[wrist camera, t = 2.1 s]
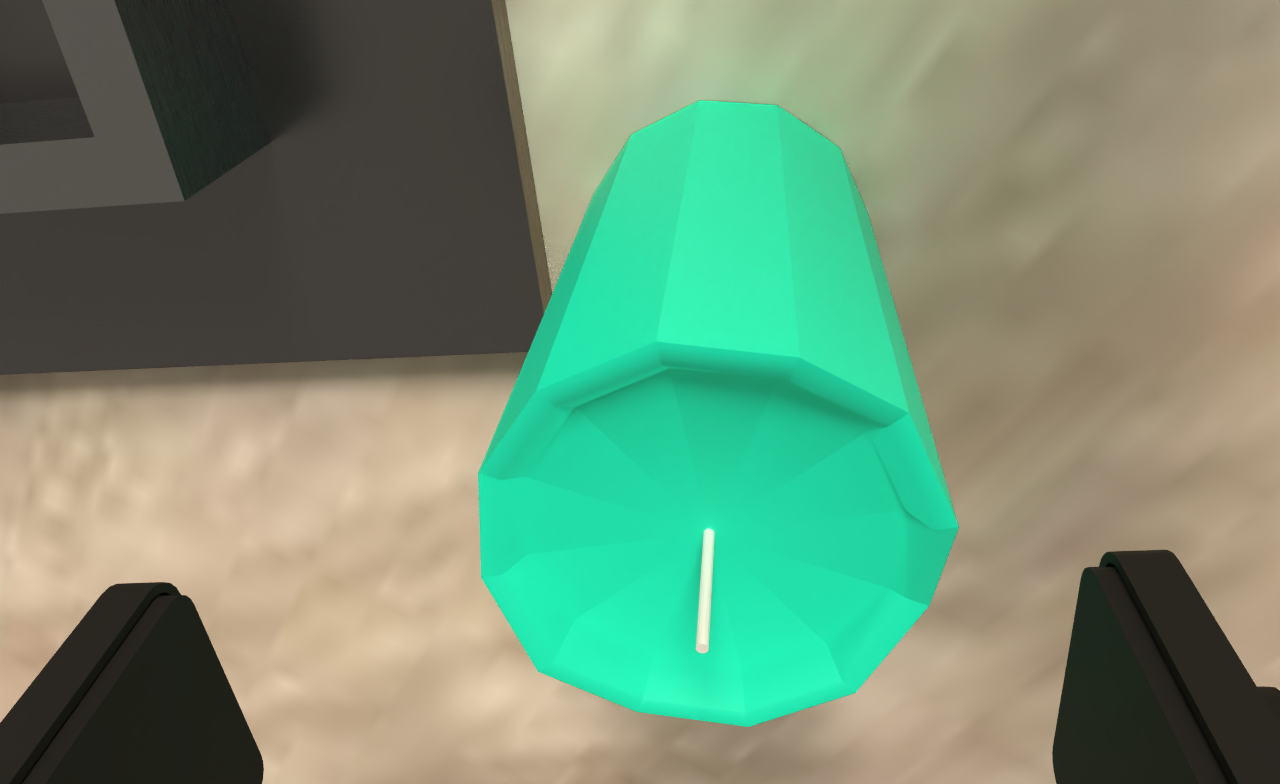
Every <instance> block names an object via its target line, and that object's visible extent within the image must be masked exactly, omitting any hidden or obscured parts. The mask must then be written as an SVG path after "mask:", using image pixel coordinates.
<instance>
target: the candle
mask: <svg viewBox="0 0 1280 784" xmlns="http://www.w3.org/2000/svg"><path fill="white" fill-rule="evenodd" d="M478 481H479V516H480V551H481V578H482V579H483V581H484V583H485V584H486V586H487V588H488V589H489V591H490V593H491V594H492V596H493V598H494V599H495V601H496V603H497V604H498V606H499V608H500V609H501V611H502V612H503V614H504V616H505V617H506V619H507V621H508V622H509V624H510V626H511V627H512V629H513V631H514V632H515V634H516V636H517V637H518V639H519V641H520V642H521V644H522V646H523V647H524V649H525V651H526V652H527V654H528V656H529V657H530V659H531V661H532V662H533V664H534V665H535V667H536V669H537V670H538V672H540V673H543V674H545V675H548V676H550V677H553V678H555V679H558V680H560V681H562V682H565V683H567V684H570V685H572V686H575V687H577V688H580V689H582V690H584V691H587V692H589V693H592V694H594V695H597V696H599V697H602V698H604V699H607V700H609V701H611V702H614V703H616V704H619V705H621V706H624V707H626V708H629V709H631V710H633V711H636V712H641V713H649V714H656V715H664V716H671V717H679V718H686V719H693V720H701V721H708V722H716V723H723V724H730V725H738V726H745V727H750V726H753V725H756V724H759V723H763V722H766V721H769V720H772V719H775V718H778V717H781V716H785V715H788V714H791V713H794V712H797V711H800V710H803V709H806V708H810V707H813V706H816V705H819V704H822V703H825V702H828V701H832V700H835V699H838V698H841V697H844V696H847V695H850V694H853V693H856V691H857V690H858V689H859V688H860V687H861V686H862V684H863V683H864V682H865V681H866V680H867V678H868V677H869V676H870V675H871V674H872V673H873V671H874V670H875V669H876V668H877V667H878V666H879V664H880V663H881V662H882V661H883V660H884V658H885V657H886V656H887V655H888V654H889V653H890V651H891V650H892V649H893V648H894V647H895V646H896V644H897V643H898V642H899V641H900V640H901V638H902V637H903V636H904V635H905V634H906V633H907V631H908V630H909V629H910V628H911V627H912V626H913V624H914V623H915V622H916V621H917V620H918V618H919V617H920V616H921V615H922V614H923V613H924V611H925V610H926V609H927V608H928V607H929V605H930V603H931V600H932V597H933V595H934V592H935V589H936V587H937V584H938V581H939V579H940V576H941V573H942V571H943V568H944V565H945V563H946V560H947V557H948V555H949V552H950V549H951V547H952V544H953V541H954V539H955V536H956V533H957V531H958V528H959V526H958V522H957V519H956V515H955V512H954V509H953V505H952V502H951V498H950V495H949V491H948V488H947V484H946V481H945V478H944V474H943V471H942V467H941V464H940V460H939V457H938V453H937V450H936V446H935V443H934V440H933V436H932V433H931V429H930V426H929V422H928V419H927V415H926V412H925V409H924V405H923V402H922V398H921V395H920V391H919V388H918V384H917V381H916V377H915V374H914V371H913V367H912V364H911V360H910V357H909V353H908V350H907V346H906V343H905V339H904V336H903V333H902V329H901V326H900V322H899V319H898V315H897V312H896V308H895V305H894V302H893V298H892V295H891V291H890V288H889V284H888V281H887V277H886V274H885V270H884V267H883V264H882V260H881V257H880V253H879V250H878V246H877V243H876V239H875V236H874V233H873V229H872V226H871V222H870V219H869V215H868V212H867V210H866V208H865V205H864V203H863V201H862V198H861V196H860V194H859V191H858V189H857V187H856V184H855V182H854V180H853V178H852V175H851V173H850V171H849V168H848V166H847V164H846V161H845V159H844V157H843V154H842V152H841V150H840V148H839V147H838V146H836V145H835V144H833V143H832V142H830V141H829V140H828V139H826V138H825V137H823V136H822V135H820V134H819V133H817V132H816V131H814V130H813V129H812V128H810V127H809V126H807V125H806V124H804V123H803V122H801V121H800V120H798V119H797V118H795V117H794V116H793V115H791V114H790V113H788V112H787V111H785V110H784V109H782V108H781V107H779V106H778V105H768V104H752V103H736V102H720V101H704V100H699V101H697V102H695V103H693V104H691V105H689V106H687V107H685V108H683V109H681V110H679V111H677V112H675V113H673V114H671V115H669V116H667V117H665V118H663V119H661V120H659V121H657V122H655V123H653V124H651V125H649V126H647V127H645V128H643V129H641V130H639V131H637V132H635V133H633V134H632V135H631V136H630V138H629V139H628V141H627V142H626V144H625V146H624V147H623V149H622V150H621V152H620V153H619V155H618V157H617V158H616V160H615V161H614V163H613V164H612V166H611V168H610V169H609V171H608V172H607V174H606V176H605V177H604V179H603V180H602V182H601V183H600V185H599V187H598V188H597V190H596V191H595V193H594V194H593V197H592V199H591V202H590V204H589V206H588V209H587V211H586V214H585V216H584V219H583V221H582V223H581V226H580V228H579V231H578V233H577V235H576V238H575V240H574V243H573V245H572V248H571V250H570V252H569V255H568V257H567V260H566V262H565V265H564V267H563V269H562V272H561V274H560V277H559V279H558V281H557V284H556V286H555V289H554V291H553V294H552V296H551V298H550V301H549V303H548V306H547V308H546V311H545V313H544V315H543V318H542V320H541V323H540V325H539V327H538V330H537V332H536V335H535V337H534V340H533V342H532V344H531V347H530V349H529V352H528V354H527V357H526V359H525V361H524V364H523V366H522V369H521V371H520V374H519V376H518V378H517V381H516V383H515V386H514V388H513V390H512V393H511V395H510V398H509V400H508V403H507V405H506V407H505V410H504V412H503V415H502V417H501V420H500V422H499V424H498V427H497V429H496V432H495V434H494V436H493V439H492V441H491V444H490V446H489V449H488V451H487V453H486V456H485V458H484V461H483V463H482V466H481V468H480V470H479V473H478Z"/></svg>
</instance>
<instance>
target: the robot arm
mask: <svg viewBox="0 0 1280 784" xmlns="http://www.w3.org/2000/svg"><path fill="white" fill-rule="evenodd" d="M1052 754H1053V768H1054V774H1055V779H1056V783H1057V784H1280V691H1279V690H1278V689H1277V688H1274V687H1257V686H1256V685H1255V683H1254V682H1253V680H1252V678H1251V677H1250V675H1249V673H1248V672H1247V670H1246V669H1245V667H1244V665H1243V664H1242V662H1241V660H1240V659H1239V657H1238V655H1237V654H1236V652H1235V651H1234V649H1233V647H1232V646H1231V644H1230V642H1229V641H1228V639H1227V638H1226V636H1225V634H1224V633H1223V631H1222V629H1221V628H1220V626H1219V625H1218V623H1217V621H1216V620H1215V618H1214V616H1213V615H1212V613H1211V612H1210V610H1209V608H1208V607H1207V605H1206V603H1205V602H1204V600H1203V599H1202V597H1201V595H1200V594H1199V592H1198V590H1197V589H1196V587H1195V586H1194V584H1193V582H1192V581H1191V579H1190V577H1189V576H1188V574H1187V573H1186V571H1185V569H1184V568H1183V566H1182V564H1181V563H1180V561H1179V560H1178V558H1177V557H1176V556H1175V555H1174V554H1173V553H1172V552H1170V551H1168V550H1147V551H1116V552H1107V553H1105V554H1104V555H1103V557H1102V558H1101V562H1100V565H1099V567H1088V568H1085V569H1084V571H1083V573H1082V577H1081V581H1080V587H1079V593H1078V599H1077V605H1076V611H1075V617H1074V623H1073V629H1072V635H1071V641H1070V647H1069V653H1068V659H1067V665H1066V671H1065V677H1064V683H1063V689H1062V695H1061V701H1060V707H1059V713H1058V719H1057V725H1056V731H1055V737H1054V743H1053V753H1052ZM263 771H264V768H263V760H262V756H261V754H260V751H259V749H258V747H257V745H256V742H255V740H254V738H253V736H252V733H251V731H250V729H249V727H248V724H247V722H246V720H245V718H244V715H243V713H242V711H241V709H240V706H239V704H238V702H237V700H236V697H235V695H234V693H233V691H232V688H231V686H230V684H229V682H228V679H227V677H226V675H225V673H224V670H223V668H222V666H221V664H220V661H219V659H218V657H217V655H216V652H215V650H214V648H213V646H212V644H211V641H210V639H209V637H208V635H207V632H206V630H205V628H204V626H203V623H202V621H201V619H200V617H199V614H198V612H197V610H196V608H195V605H194V603H193V602H192V600H191V599H190V598H189V597H187V596H185V595H181V594H180V593H179V591H178V590H177V588H176V587H175V586H173V585H172V584H171V583H164V582H158V583H127V584H116V585H113V586H111V587H109V588H108V589H107V590H106V591H105V592H104V593H103V594H102V595H101V596H100V597H99V598H98V600H97V601H96V602H95V604H94V605H93V606H92V607H91V609H90V610H89V611H88V612H87V614H86V615H85V616H84V618H83V619H82V620H81V621H80V623H79V624H78V625H77V626H76V628H75V629H74V630H73V631H72V633H71V634H70V635H69V637H68V638H67V639H66V640H65V642H64V643H63V644H62V645H61V647H60V648H59V649H58V651H57V652H56V653H55V654H54V656H53V657H52V658H51V659H50V661H49V662H48V663H47V664H46V666H45V667H44V668H43V670H42V671H41V672H40V673H39V675H38V676H37V677H36V678H35V680H34V681H33V682H32V684H31V685H30V686H29V687H28V689H27V690H26V691H25V692H24V694H23V695H22V696H21V697H20V699H19V700H18V701H17V703H16V704H15V705H14V706H13V708H12V709H11V710H10V711H9V713H8V714H7V715H6V717H5V718H4V719H3V720H2V722H1V723H0V784H262V780H263Z"/></svg>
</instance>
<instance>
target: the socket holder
mask: <svg viewBox="0 0 1280 784" xmlns="http://www.w3.org/2000/svg"><path fill="white" fill-rule="evenodd" d="M551 296H552V291H551V285H550V279H549V273H548V266H547V260H546V254H545V248H544V241H543V235H542V229H541V223H540V217H539V210H538V204H537V198H536V192H535V186H534V179H533V173H532V167H531V161H530V154H529V148H528V142H527V136H526V130H525V123H524V117H523V111H522V105H521V99H520V92H519V86H518V80H517V74H516V67H515V61H514V55H513V49H512V43H511V36H510V30H509V24H508V18H507V12H506V5H505V0H0V375H2V374H25V373H48V372H71V371H94V370H117V369H140V368H163V367H187V366H210V365H233V364H256V363H279V362H302V361H325V360H348V359H371V358H394V357H417V356H440V355H463V354H486V353H509V352H529V349H530V347H531V344H532V342H533V340H534V337H535V335H536V332H537V330H538V327H539V325H540V323H541V320H542V318H543V315H544V313H545V311H546V308H547V306H548V303H549V301H550V298H551Z"/></svg>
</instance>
